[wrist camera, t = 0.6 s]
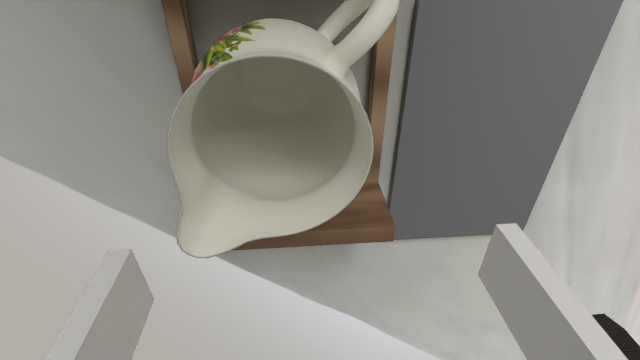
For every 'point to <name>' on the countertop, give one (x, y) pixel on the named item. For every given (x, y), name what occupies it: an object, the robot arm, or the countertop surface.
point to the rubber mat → (488, 108)
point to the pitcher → (273, 130)
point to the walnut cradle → (369, 204)
